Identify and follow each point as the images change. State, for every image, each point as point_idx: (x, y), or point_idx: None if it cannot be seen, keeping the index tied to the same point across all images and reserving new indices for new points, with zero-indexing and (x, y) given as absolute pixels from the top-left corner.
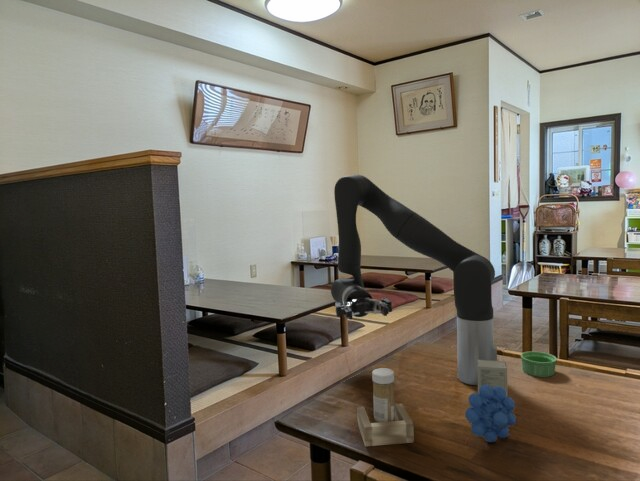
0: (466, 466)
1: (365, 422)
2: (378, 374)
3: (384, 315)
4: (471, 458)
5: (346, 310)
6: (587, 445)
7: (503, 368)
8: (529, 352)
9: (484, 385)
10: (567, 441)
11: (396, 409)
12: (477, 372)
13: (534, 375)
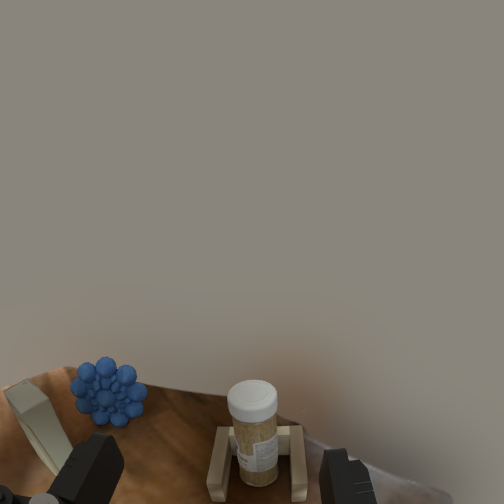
0: (184, 401)
1: (298, 436)
2: (266, 383)
3: (122, 462)
4: (168, 409)
5: (363, 498)
6: (47, 392)
7: (30, 381)
8: None
9: (106, 357)
10: (53, 401)
11: (223, 477)
12: (46, 416)
13: None
